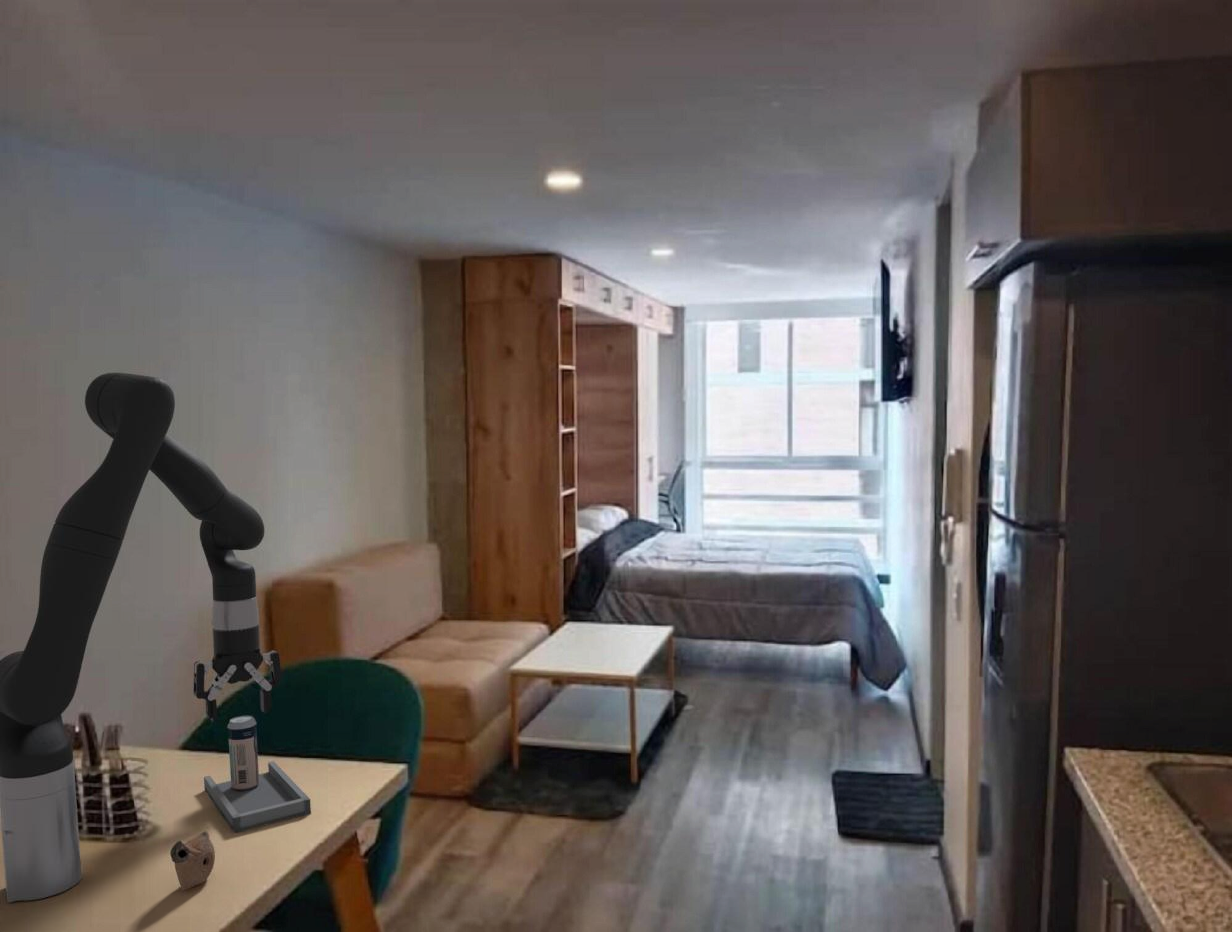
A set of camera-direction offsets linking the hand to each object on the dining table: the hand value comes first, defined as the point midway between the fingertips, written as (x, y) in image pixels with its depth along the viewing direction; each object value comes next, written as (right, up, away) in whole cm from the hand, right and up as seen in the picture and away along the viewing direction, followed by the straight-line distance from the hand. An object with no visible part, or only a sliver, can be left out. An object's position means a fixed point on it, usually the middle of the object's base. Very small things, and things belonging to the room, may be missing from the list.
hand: (239, 715), depth 172 cm
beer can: (+1, -13, +1) cm, 13 cm away
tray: (+5, -13, -5) cm, 15 cm away
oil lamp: (+7, -16, -34) cm, 38 cm away
